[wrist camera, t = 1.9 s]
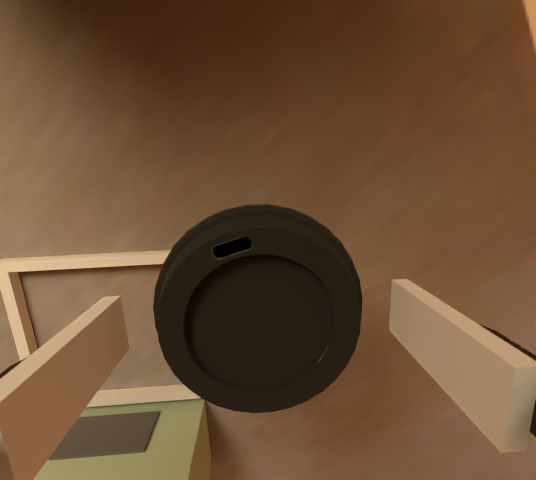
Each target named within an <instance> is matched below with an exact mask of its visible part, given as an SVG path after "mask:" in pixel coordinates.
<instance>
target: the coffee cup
mask: <svg viewBox="0 0 536 480" xmlns="http://www.w3.org/2000/svg"><path fill="white" fill-rule="evenodd" d="M153 308H154V317H155V326H156V329H157V332H158V339H159V343H160V346H161V349H162V352H163V355H164V358H165V360H166V361H167V363H168V365H169V366H170V368H171V370H172V371H173V373H174V374H175V376H176V377H177V378H178V379H179V380H180V381H181V382H182V383H183V384H184V385H185V386H186V387H187V388H188V389H189V390H191V391H192V392H193V393H195V394H196V395H198V396H199V397H200V398H202V399H204V400H206V401H208V402H210V403H212V404H214V405H216V406H219V407H223V408H226V409H230V410H234V411H240V412H249V413H261V412H274V411H278V410H282V409H287V408H291V407H293V406H296V405H298V404H301V403H303V402H305V401H308V400H309V399H311V398H312V397H314V396H316V395H317V394H319V393H321V392H322V391H323V390H324V389H326V388H327V387H328V386H329V385H330V384H331V383H332V382H334V381H335V380H336V379H337V377H338V376H339V375H340V374H341V372H342V371H343V370H344V368H345V367H346V366H347V364H348V362H349V360H350V358H351V356H352V354H353V353H354V351H355V348H356V344H357V341H358V337H359V334H360V323H361V311H362V294H361V287H360V280H359V277H358V274H357V272H356V269H355V266H354V264H353V261H352V259H351V257H350V256H349V254H348V252H347V251H346V249H345V248H344V246H343V245H342V243H341V242H340V241H339V239H338V238H337V237H336V236H335V235H334V234H333V233H332V232H331V231H330V230H329V229H328V228H327V227H325V226H324V225H322V224H321V223H319V222H318V221H316V220H315V219H313V218H312V217H310V216H308V215H305V214H303V213H300V212H298V211H295V210H293V209H290V208H285V207H280V206H274V205H269V204H266V205H244V206H239V207H235V208H230V209H225V210H223V211H221V212H219V213H216V214H214V215H212V216H209V217H207V218H205V219H204V220H202V221H201V222H199V223H198V224H197V225H195V226H194V227H192V228H191V229H189V230H188V231H187V232H186V233H185V234H184V235H183V236H182V237H181V239H180V240H179V241H178V242H177V243H176V244H175V245H174V246H173V248H172V249H171V251H170V253H169V254H168V256H167V258H166V259H165V261H164V263H163V265H162V268H161V271H160V274H159V277H158V280H157V283H156V286H155V295H154V305H153Z"/></svg>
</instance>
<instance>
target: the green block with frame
mask: <svg viewBox="0 0 536 480" xmlns="http://www.w3.org/2000/svg"><path fill="white" fill-rule="evenodd" d="M170 251H171V250H158V251H139V252H120V253H101V254H82V255H63V256H44V257H25V258H6V259H0V289H1V293H2V297H3V300H4V304H5V307H6V311H7V315H8V318H9V322H10V326H11V329H12V333H13V336H14V340H15V344H16V347H17V351H18V354H19V358H20V361H21V360H23V359H25V358H26V357H28V356H30V355H31V354H32V353H34V352H35V351H36V350H37V349H38V347H37V343H36V340H35V336H34V332H33V328H32V324H31V320H30V316H29V312H28V309H27V305H26V301H25V297H24V293H23V289H22V285H21V281H20V278H19V274H18V272H23V271H41V270H59V269H77V268H96V267H114V266H132V265H150V264H163V263H164V261H165V259H166V258H167V256H168V254H169V253H170ZM198 398H200V397H199V396H198V395H196V394H195V393H193V392H192V391H191V390H189V389H188V388H187V387H186V386H185V385H184V384H179V385H166V386H152V387H139V388H126V389H113V390H100V391H97V393H96V394H95V395H94V397H93V398H92V400H91V401H90V402H89V404H88V405H87V406H86V407H94V408H85V409H84V411H83V412H82V413H81V415H80V416H79V417H78V419H77V420H76V422H75V423H74V424H73V426H72V427H71V428H70V430H69V431H68V433H67V434H66V435H65V437H64V438H63V439H62V441H61V442H60V443H59V445H58V446H57V448H56V449H55V450H54V452H53V453H52V454H51V456H50V457H49V459H48V460H47V461H46V463H45V464H44V465H43V467H42V468H41V470H40V471H39V472H38V474H37V475H36V476H35V478H34V479H33V480H209V477H210V470H211V453H210V443H209V434H208V425H207V416H206V406H205V400H204V399H198ZM185 399H196V400H185ZM172 400H183V401H172ZM160 401H170V402H160ZM147 402H157V403H147ZM134 403H145V404H134ZM121 404H132V405H121ZM109 405H119V406H109ZM96 406H106V407H96Z"/></svg>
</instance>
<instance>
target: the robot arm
mask: <svg viewBox="0 0 536 480" xmlns="http://www.w3.org/2000/svg"><path fill="white" fill-rule="evenodd" d="M389 331H390V332H391V333H392V334H393V335H394V336H395V337H396V338H397V340H398V341H399V342H400V343H401V344H402V345H403V346H404V347H405V348H406V349H407V351H408V352H409V353H410V354H411V355H412V356H413V357H414V358H415V359H416V360H417V362H418V363H419V364H420V365H421V366H422V367H423V368H424V369H425V370H426V371H427V372H428V374H429V375H430V376H431V377H432V378H433V379H434V380H435V381H436V382H437V383H438V385H439V386H440V387H441V388H442V389H443V390H444V391H445V392H446V393H447V394H448V396H449V397H450V398H451V399H452V400H453V401H454V402H455V403H456V404H457V405H458V407H459V408H460V409H461V410H462V411H463V412H464V413H465V414H466V415H467V416H468V417H469V419H470V420H471V421H472V422H473V423H474V424H475V425H476V426H477V427H478V428H479V430H480V431H481V432H482V433H483V434H484V435H485V436H486V437H487V438H488V439H489V441H490V442H491V443H492V444H493V445H494V446H495V447H496V448H497V449H498V450H499V451H500V453H511V452H522V451H527V449H528V443H529V438H530V433H532V434H533V435H534V436H535V437H536V355H534V354H532V353H531V352H529V351H527V350H526V349H524V348H521V346H519V345H518V344H516V343H515V342H513V341H510V339H508V338H507V337H505V336H503V335H502V334H500V333H498V332H497V331H495V330H492V329H490V328H487V327H485V326H482V325H480V324H477V323H476V322H474V321H472V320H471V319H469V318H468V317H466V316H465V315H463V314H461V313H460V312H458V311H457V310H455V309H454V308H452V307H450V306H449V305H447V304H446V303H444V302H443V301H441V300H439V299H438V298H436V297H435V296H433V295H432V294H430V293H429V292H427V291H425V290H424V289H422V288H421V287H419V286H418V285H416V284H414V283H413V282H411V281H410V280H408V279H394V280H392V286H391V304H390V321H389ZM128 349H129V344H128V338H127V332H126V326H125V320H124V314H123V307H122V301H121V296H109V297H103V298H102V299H101V300H99V301H98V302H97V303H96V304H94V305H93V306H92V307H90V308H89V309H88V310H87V311H85V312H84V313H83V314H82V315H80V316H79V317H78V318H77V319H75V320H74V321H73V322H72V323H70V324H69V325H68V326H67V327H65V328H64V329H63V330H61V331H60V332H59V333H58V334H56V335H55V336H54V337H53V338H51V339H50V340H49V341H48V342H46V343H45V344H44V345H43V346H41V347H40V348H39V349H37V350H36V351H35V352H34V353H32V354H31V355H30V356H28V357H26V358H25V359H23V360H21V361H19V362H17V363H15V364H14V365H12V366H10V367H9V368H7V369H6V370H5V371H4V372H2V373H1V374H0V480H33V479H34V478H35V476H36V475H37V474H38V472H39V471H40V470H41V468H42V467H43V465H44V464H45V463H46V461H47V460H48V459H49V457H50V456H51V454H52V453H53V452H54V450H55V449H56V448H57V446H58V445H59V443H60V442H61V441H62V439H63V438H64V437H65V435H66V434H67V433H68V431H69V430H70V428H71V427H72V426H73V424H74V423H75V422H76V420H77V419H78V417H79V416H80V415H81V413H82V412H83V411H84V409H85V408H86V406H87V405H88V404H89V402H90V401H91V400H92V398H93V397H94V395H95V394H96V393H97V391H98V390H99V389H100V387H101V386H102V385H103V383H104V382H105V380H106V379H107V378H108V376H109V375H110V374H111V372H112V371H113V369H114V368H115V367H116V365H117V364H118V363H119V361H120V360H121V358H122V357H123V356H124V354H125V353H126V352H127V350H128Z"/></svg>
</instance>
